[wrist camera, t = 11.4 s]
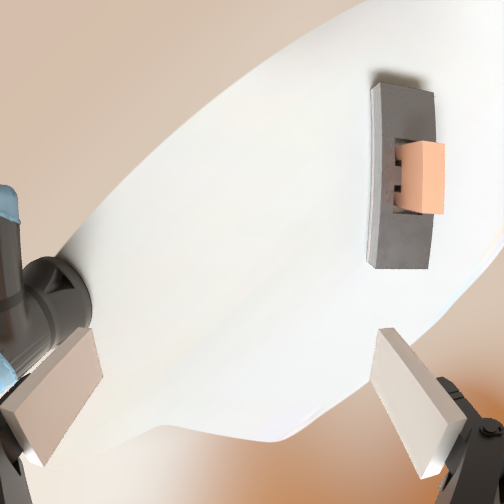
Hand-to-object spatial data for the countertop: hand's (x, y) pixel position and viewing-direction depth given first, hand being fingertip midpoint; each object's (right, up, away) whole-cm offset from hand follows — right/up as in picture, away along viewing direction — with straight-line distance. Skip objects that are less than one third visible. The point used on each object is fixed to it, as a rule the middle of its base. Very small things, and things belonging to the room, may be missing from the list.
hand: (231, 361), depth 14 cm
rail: (+21, +15, +27) cm, 37 cm away
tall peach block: (+21, +15, +26) cm, 37 cm away
